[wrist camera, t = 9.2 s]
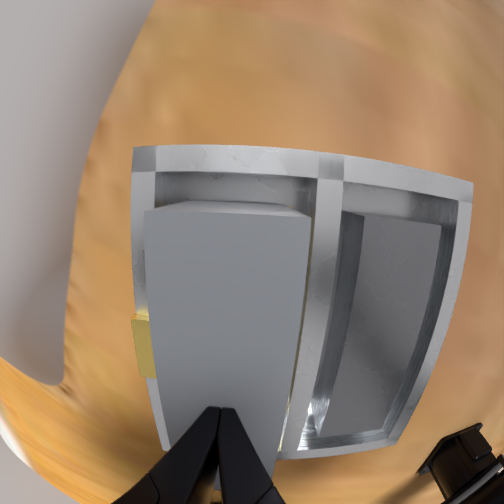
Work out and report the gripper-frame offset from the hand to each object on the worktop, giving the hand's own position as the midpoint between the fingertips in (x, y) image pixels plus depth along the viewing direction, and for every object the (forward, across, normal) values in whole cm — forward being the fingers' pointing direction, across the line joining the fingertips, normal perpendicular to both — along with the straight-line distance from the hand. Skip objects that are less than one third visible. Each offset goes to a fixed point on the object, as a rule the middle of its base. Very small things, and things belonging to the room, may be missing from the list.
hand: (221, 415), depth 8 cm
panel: (+6, 0, 0) cm, 6 cm away
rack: (+7, -4, 0) cm, 8 cm away
